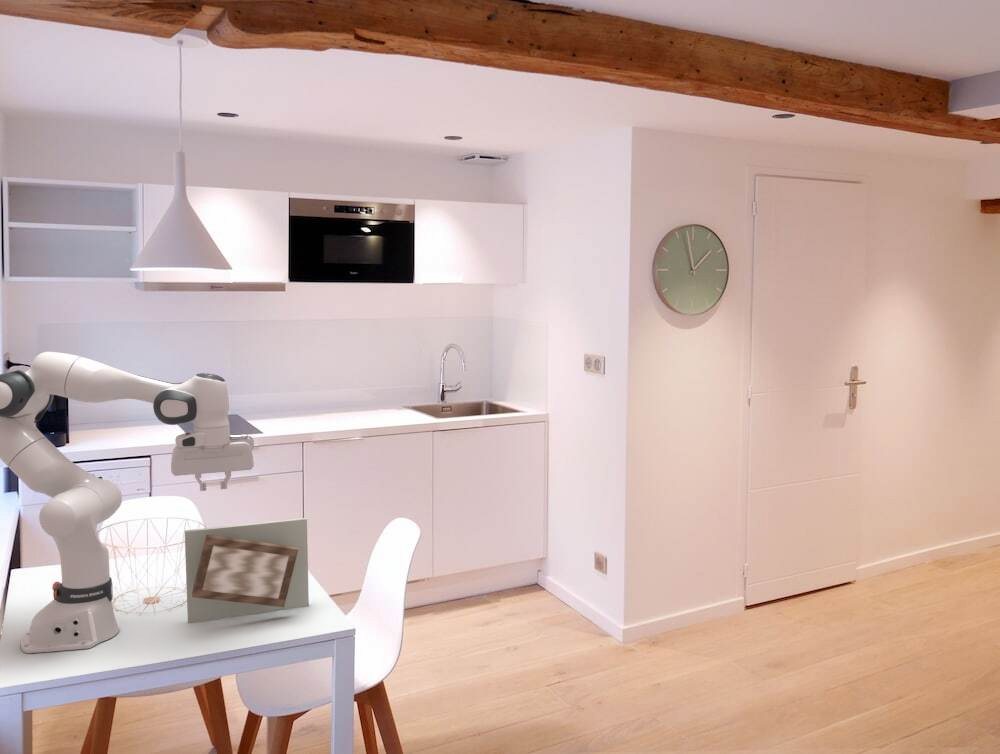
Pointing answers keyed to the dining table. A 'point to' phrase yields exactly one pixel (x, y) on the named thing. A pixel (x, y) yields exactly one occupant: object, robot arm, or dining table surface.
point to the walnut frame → (244, 571)
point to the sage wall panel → (267, 532)
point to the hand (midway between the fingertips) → (213, 489)
